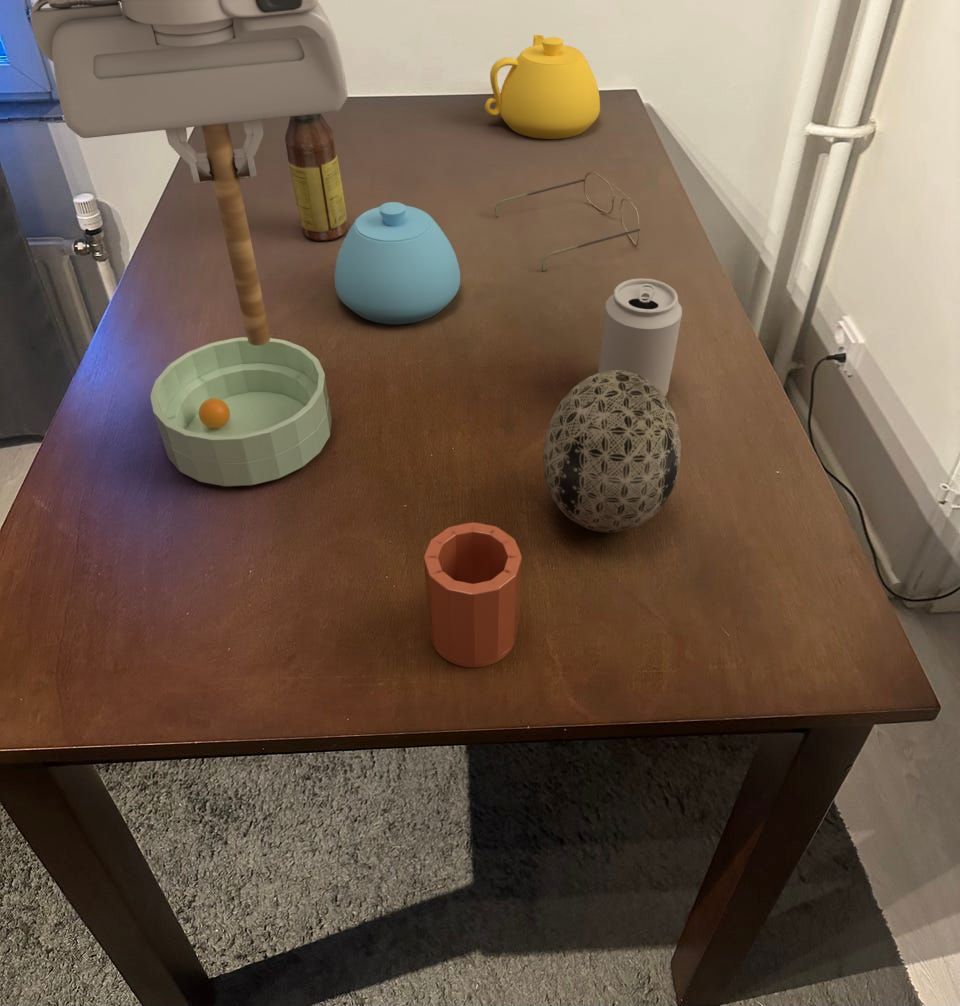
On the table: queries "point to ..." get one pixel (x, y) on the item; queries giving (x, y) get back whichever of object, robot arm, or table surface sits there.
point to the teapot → (546, 91)
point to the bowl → (243, 411)
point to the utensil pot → (473, 593)
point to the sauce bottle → (316, 177)
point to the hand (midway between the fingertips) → (225, 178)
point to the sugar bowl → (396, 266)
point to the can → (641, 330)
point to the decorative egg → (612, 452)
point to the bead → (214, 413)
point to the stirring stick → (236, 231)
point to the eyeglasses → (591, 204)
